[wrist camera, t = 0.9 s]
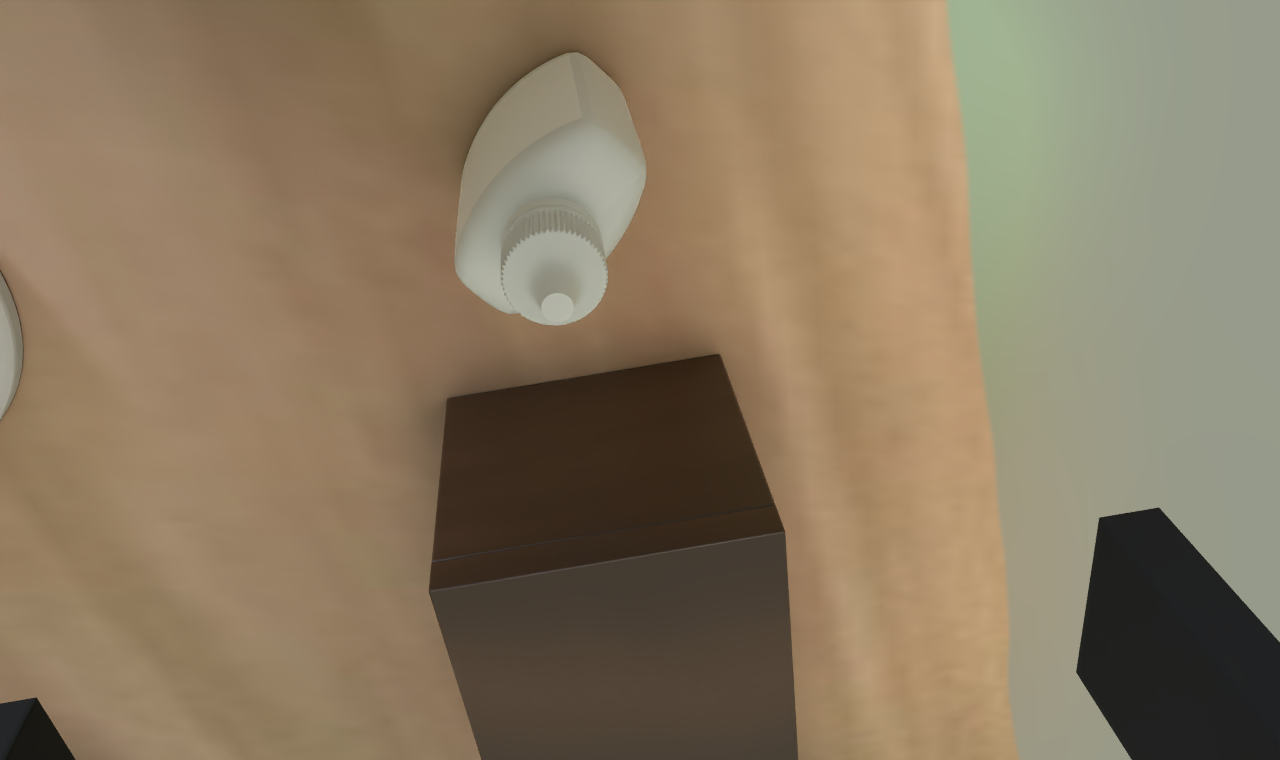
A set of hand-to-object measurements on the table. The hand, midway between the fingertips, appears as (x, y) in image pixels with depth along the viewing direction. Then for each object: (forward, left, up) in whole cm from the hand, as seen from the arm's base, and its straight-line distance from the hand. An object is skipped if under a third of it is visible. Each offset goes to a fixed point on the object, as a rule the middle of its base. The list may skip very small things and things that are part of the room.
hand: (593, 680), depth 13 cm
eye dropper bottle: (0, 0, -22) cm, 22 cm away
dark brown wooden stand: (+18, 0, -22) cm, 29 cm away
